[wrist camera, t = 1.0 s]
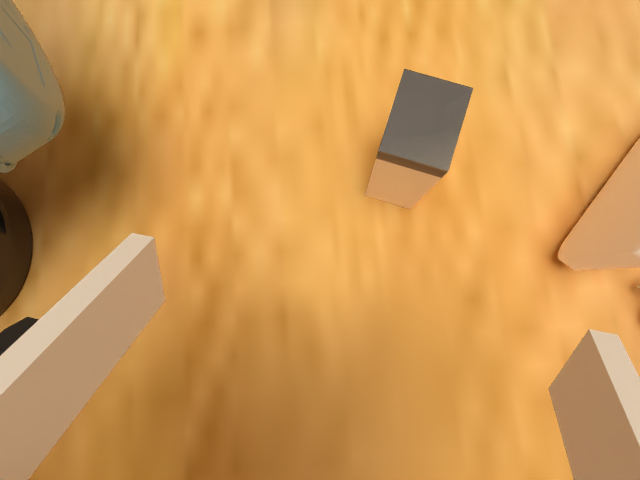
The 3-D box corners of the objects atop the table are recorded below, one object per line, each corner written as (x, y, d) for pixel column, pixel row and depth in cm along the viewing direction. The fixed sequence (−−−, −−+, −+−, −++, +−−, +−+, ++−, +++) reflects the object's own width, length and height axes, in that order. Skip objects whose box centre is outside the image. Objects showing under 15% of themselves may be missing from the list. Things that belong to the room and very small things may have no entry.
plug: (364, 195, 35) (378, 150, 23) (382, 140, 35) (404, 68, 24) (410, 209, 35) (448, 171, 23) (427, 154, 35) (473, 88, 23)
